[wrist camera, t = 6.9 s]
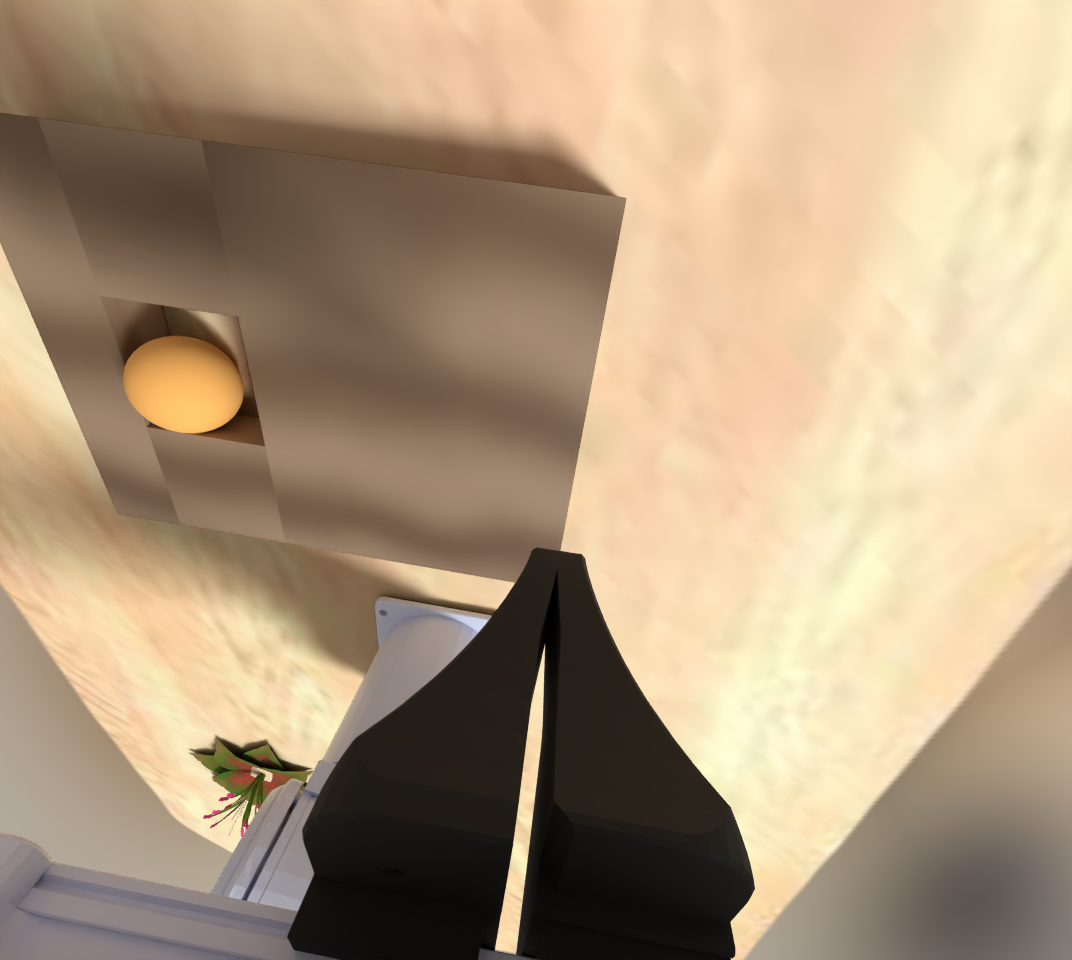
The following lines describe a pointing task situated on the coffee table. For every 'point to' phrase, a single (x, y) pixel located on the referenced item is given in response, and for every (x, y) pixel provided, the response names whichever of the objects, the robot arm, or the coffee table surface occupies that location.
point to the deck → (321, 336)
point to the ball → (183, 384)
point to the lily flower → (246, 777)
